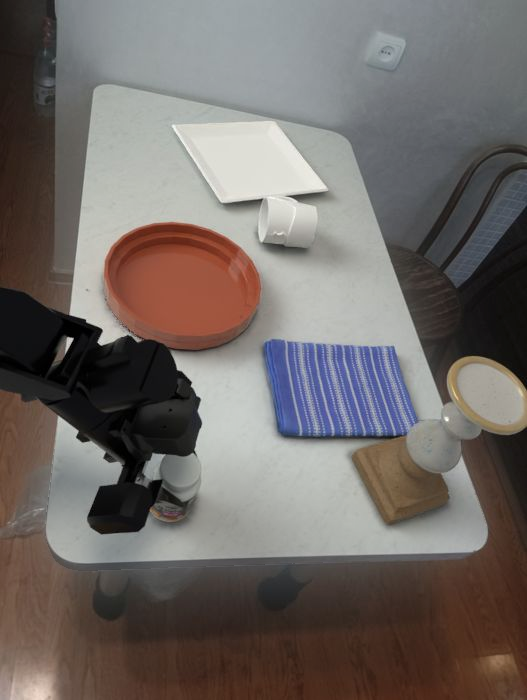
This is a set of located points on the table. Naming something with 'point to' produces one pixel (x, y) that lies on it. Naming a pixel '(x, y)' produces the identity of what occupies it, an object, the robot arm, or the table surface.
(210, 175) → the plate
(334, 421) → the dish towel
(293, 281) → the table surface
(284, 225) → the mug
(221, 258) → the bowl
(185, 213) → the table surface
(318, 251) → the table surface
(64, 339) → the robot arm
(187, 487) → the pill bottle
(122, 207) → the table surface
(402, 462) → the candle holder
